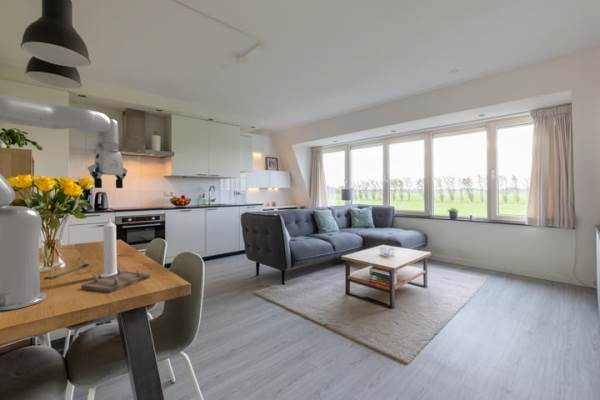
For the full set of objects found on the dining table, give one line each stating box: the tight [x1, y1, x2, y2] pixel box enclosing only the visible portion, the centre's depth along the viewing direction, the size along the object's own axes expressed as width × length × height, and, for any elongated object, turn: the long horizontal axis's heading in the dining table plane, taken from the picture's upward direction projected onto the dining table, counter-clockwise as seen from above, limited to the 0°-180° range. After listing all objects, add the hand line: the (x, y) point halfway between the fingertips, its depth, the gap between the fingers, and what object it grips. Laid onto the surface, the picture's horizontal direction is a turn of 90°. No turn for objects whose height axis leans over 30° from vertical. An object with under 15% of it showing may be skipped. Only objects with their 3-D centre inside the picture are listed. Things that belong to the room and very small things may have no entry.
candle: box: [100, 217, 118, 278], centre depth 119 cm, size 7×7×25 cm
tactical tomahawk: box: [44, 263, 90, 280], centre depth 124 cm, size 21×7×1 cm, turn 176°
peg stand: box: [80, 267, 151, 294], centre depth 110 cm, size 18×14×4 cm
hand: (109, 188), depth 119 cm, fingers open, 9 cm apart
